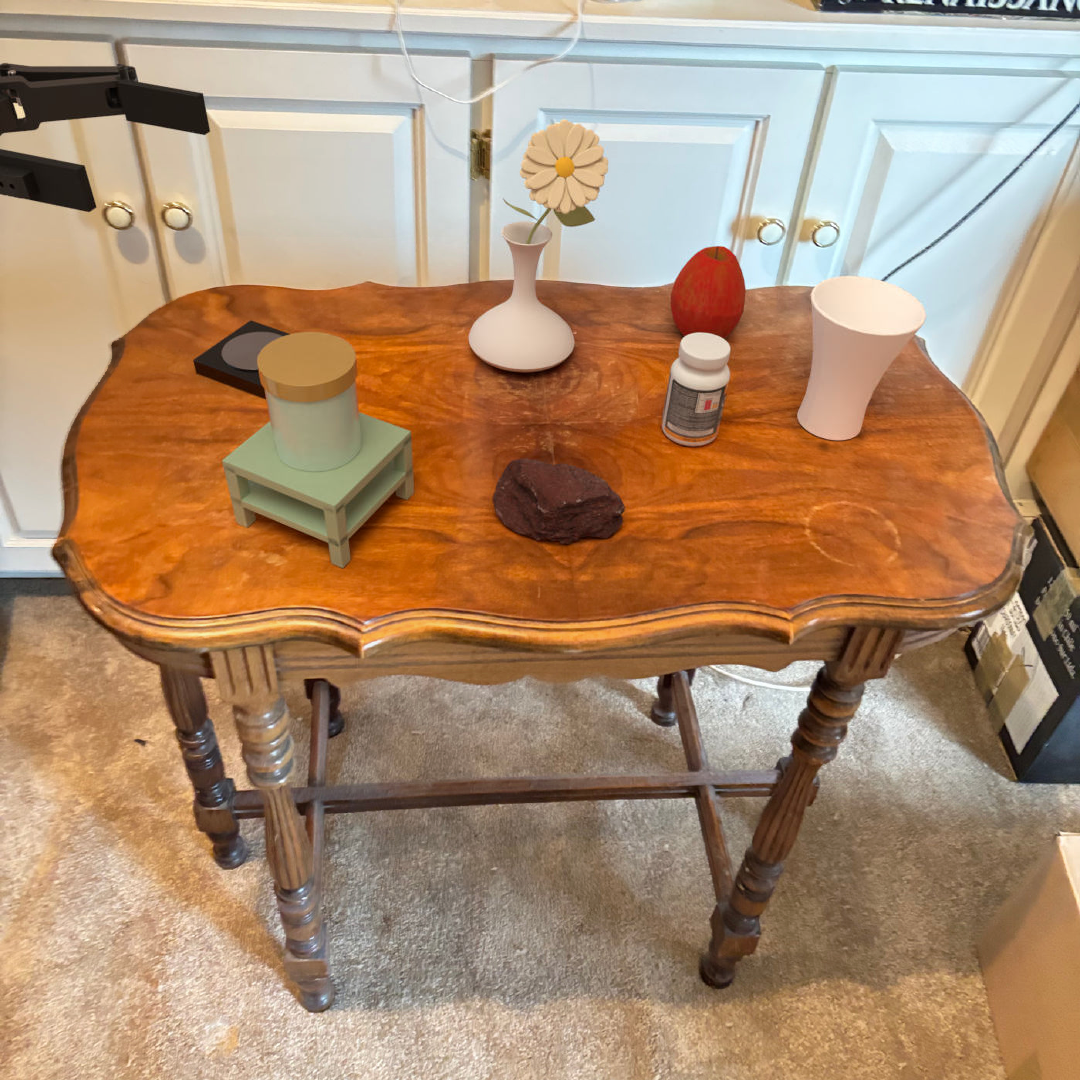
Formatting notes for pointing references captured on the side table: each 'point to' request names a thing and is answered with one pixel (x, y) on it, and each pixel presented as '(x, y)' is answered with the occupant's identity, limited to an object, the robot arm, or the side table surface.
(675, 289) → the apple
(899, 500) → the side table surface
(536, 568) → the side table surface
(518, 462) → the rock
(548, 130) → the flower in vase
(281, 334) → the hot plate
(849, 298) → the cup
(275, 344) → the jar
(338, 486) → the shelf
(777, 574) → the side table surface
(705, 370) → the pill bottle
